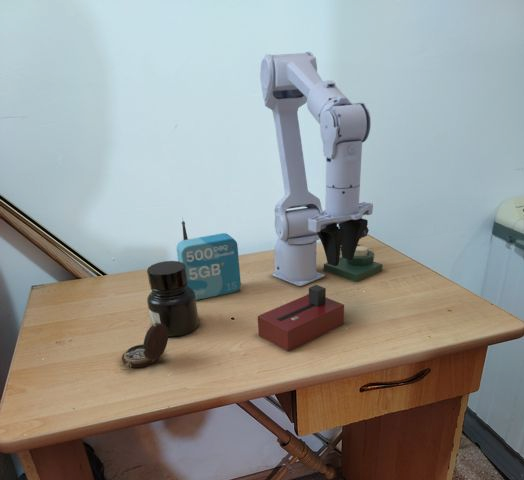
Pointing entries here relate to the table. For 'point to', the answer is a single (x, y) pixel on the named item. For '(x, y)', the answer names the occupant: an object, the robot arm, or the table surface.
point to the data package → (210, 264)
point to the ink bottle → (172, 298)
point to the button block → (355, 267)
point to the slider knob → (317, 295)
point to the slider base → (299, 322)
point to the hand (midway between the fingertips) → (340, 261)
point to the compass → (147, 348)
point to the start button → (361, 251)
